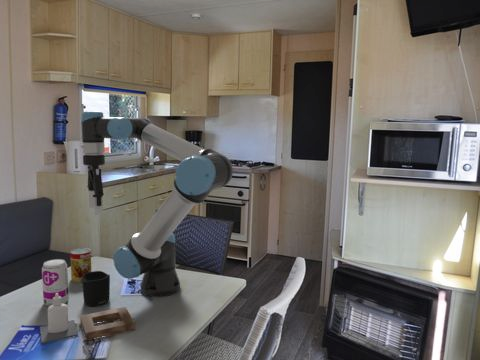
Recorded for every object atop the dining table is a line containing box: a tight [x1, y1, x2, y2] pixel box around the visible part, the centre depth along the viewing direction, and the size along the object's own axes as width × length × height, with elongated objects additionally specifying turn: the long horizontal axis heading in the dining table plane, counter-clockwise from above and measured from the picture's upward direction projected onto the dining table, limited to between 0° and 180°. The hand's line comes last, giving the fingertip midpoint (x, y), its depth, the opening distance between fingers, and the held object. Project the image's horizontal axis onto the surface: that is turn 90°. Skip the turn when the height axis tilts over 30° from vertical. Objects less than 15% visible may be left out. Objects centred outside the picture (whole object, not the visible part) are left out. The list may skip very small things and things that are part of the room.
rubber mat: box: [39, 319, 79, 345], centre depth 124 cm, size 10×10×1 cm
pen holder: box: [81, 270, 111, 308], centre depth 145 cm, size 9×9×10 cm
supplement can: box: [41, 258, 70, 307], centre depth 144 cm, size 8×8×15 cm
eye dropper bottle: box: [47, 293, 69, 333], centre depth 124 cm, size 4×6×12 cm
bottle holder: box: [80, 306, 136, 342], centre depth 128 cm, size 14×12×2 cm
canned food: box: [69, 247, 92, 283], centre depth 167 cm, size 8×8×12 cm
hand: (95, 210), depth 150 cm, fingers open, 13 cm apart
